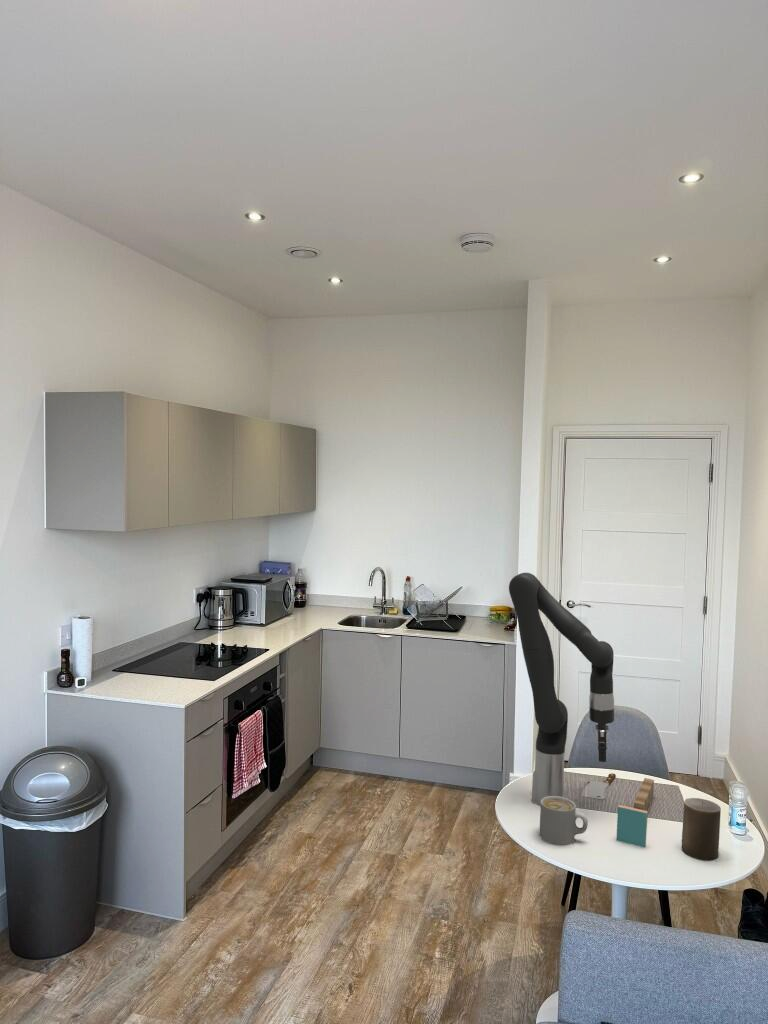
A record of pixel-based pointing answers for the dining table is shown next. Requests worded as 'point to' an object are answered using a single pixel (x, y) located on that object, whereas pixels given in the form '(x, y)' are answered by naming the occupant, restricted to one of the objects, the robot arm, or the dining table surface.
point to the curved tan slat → (644, 795)
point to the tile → (632, 825)
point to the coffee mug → (560, 820)
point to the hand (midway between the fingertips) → (602, 756)
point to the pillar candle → (701, 828)
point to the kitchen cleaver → (600, 787)
